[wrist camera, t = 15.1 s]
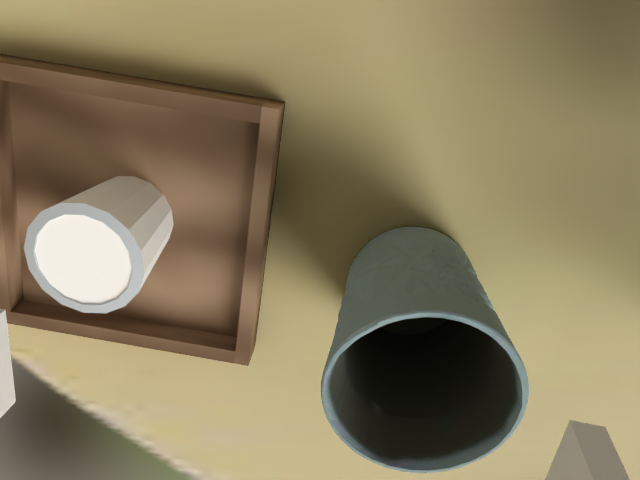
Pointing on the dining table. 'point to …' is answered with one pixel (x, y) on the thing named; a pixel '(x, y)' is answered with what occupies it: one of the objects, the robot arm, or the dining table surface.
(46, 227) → the white cup
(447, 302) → the blue cup
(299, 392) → the dining table surface
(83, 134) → the tray
